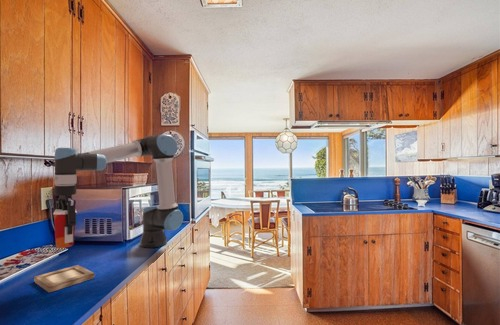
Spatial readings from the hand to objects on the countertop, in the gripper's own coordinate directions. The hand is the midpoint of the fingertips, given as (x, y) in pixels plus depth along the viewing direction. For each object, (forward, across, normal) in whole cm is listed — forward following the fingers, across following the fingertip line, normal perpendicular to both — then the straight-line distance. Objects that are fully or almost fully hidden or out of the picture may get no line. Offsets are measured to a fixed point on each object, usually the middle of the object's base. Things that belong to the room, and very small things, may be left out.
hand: (64, 240), depth 111 cm
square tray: (+16, 0, 0) cm, 16 cm away
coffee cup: (+2, 0, 0) cm, 2 cm away
